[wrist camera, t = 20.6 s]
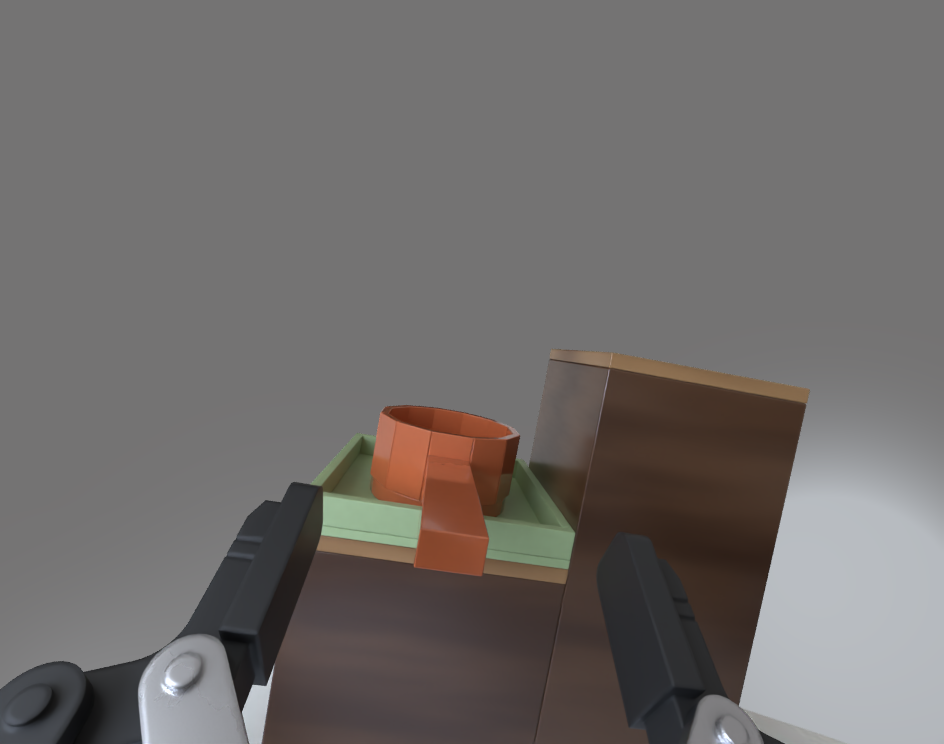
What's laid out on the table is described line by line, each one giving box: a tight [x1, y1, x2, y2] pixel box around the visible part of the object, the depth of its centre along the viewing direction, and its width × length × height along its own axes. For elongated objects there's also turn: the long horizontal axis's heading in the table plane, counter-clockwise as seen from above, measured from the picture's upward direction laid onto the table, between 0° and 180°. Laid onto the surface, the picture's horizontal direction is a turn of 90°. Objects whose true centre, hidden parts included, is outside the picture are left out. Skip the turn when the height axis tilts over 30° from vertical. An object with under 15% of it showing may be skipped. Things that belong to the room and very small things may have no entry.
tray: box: [311, 433, 575, 569], centre depth 29 cm, size 14×14×2 cm
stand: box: [262, 349, 810, 744], centre depth 29 cm, size 14×25×31 cm, turn 94°
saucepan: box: [370, 405, 520, 576], centre depth 24 cm, size 18×9×5 cm, turn 4°
